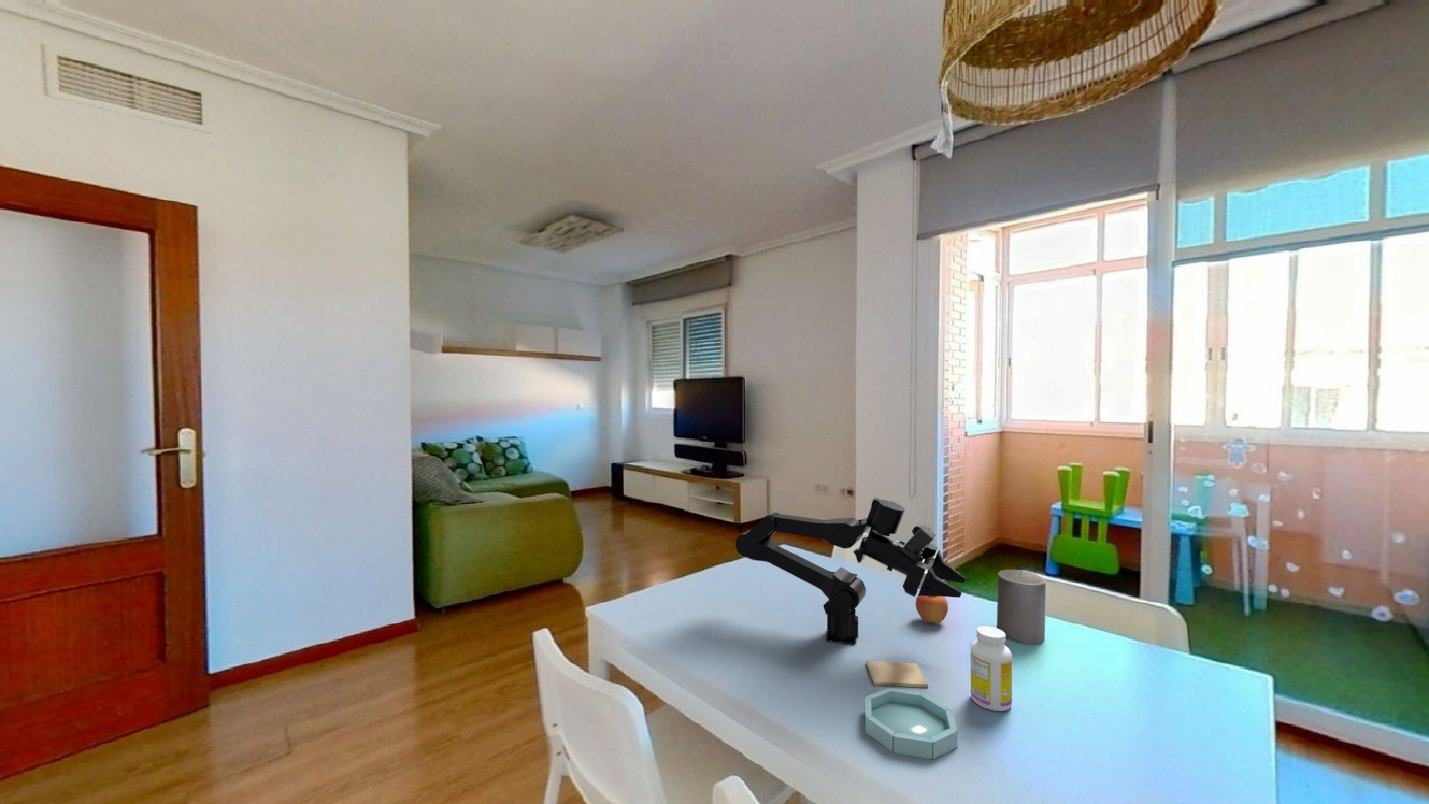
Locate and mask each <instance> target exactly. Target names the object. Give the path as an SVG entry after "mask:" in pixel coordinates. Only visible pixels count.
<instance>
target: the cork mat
mask: <svg viewBox="0 0 1429 804" xmlns="http://www.w3.org/2000/svg"><path fill="white" fill-rule="evenodd" d="M865 662H866V663H865V664H866V667H867V669H868V672H869V675H870V677H871V681H872V683H873V685H874V686H887V687H889V686H890V687H905V688H906V687H910V688H927V689H928V688H929V683H928V682H927V680H926V679H925V677H924V675H923V673H922V671H921V670H920V667H919V665H918V663H916V662H902V661H901V662H898V661H882V660H881V661H879V660H878V661H877V660H866V661H865Z"/></svg>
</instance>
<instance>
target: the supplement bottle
mask: <svg viewBox="0 0 1429 804" xmlns="http://www.w3.org/2000/svg"><path fill="white" fill-rule="evenodd" d="M975 637H976V638H977V639H976V640H975V641H973V642H972V643H971V645H970V697H971V699H972V701H973V702H975V703H976V704H977V705H978V706H979V707H982V708H983V709H986V710H989V711H995V712H1004V711H1008V710H1009V709H1011V707H1012V706H1013V654H1012V652H1011V650H1010V648H1009V647H1007V645H1005V644H1006V641H1007V639H1006V635H1005V633H1004V632H1003V631H1002V630H1000V629H997V627H993V626H986V625H985V626H978V627H977V628H976V636H975Z"/></svg>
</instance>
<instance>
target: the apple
mask: <svg viewBox="0 0 1429 804" xmlns="http://www.w3.org/2000/svg"><path fill="white" fill-rule="evenodd" d="M915 609H916V611H917V614H918V616H920V618H921V620H922V621H923V622H925V623H926V624H928V623H932V624H935V625H939V624H940V623H942V622H943V621H944V620H945V618H946V616H947V615H948V611H949V604H948V600H947V598H946V597H943V596H918V595H917V597H916V599H915Z"/></svg>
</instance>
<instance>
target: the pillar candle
mask: <svg viewBox="0 0 1429 804" xmlns="http://www.w3.org/2000/svg"><path fill="white" fill-rule="evenodd" d="M1046 583H1047V580H1046V579H1045V577H1043V576H1041V575H1039V574H1036V573H1032V572H1029V571H1026V570H1019V569H1003V570H999V572H998V573H997V603H996V604H997V607H996V610H997V611H996V614H997V615H996V628H997V629H1000V630H1002V631H1003V632H1004V633H1005V635H1006V640H1009V641H1011V642H1013V643H1017V644H1018V643H1019V644H1023V645H1032V646H1033V645H1040V644H1042V643H1043V642H1044V641H1045V638H1046V590H1047V589H1046V588H1047V587H1046Z"/></svg>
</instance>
